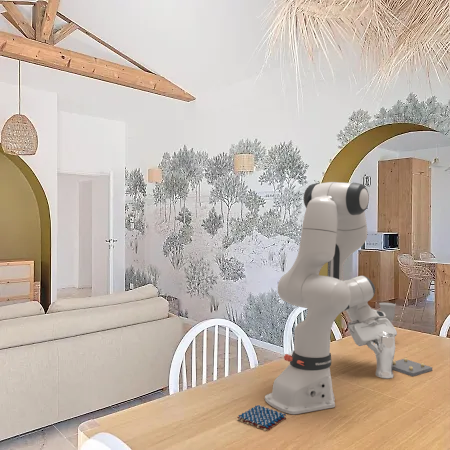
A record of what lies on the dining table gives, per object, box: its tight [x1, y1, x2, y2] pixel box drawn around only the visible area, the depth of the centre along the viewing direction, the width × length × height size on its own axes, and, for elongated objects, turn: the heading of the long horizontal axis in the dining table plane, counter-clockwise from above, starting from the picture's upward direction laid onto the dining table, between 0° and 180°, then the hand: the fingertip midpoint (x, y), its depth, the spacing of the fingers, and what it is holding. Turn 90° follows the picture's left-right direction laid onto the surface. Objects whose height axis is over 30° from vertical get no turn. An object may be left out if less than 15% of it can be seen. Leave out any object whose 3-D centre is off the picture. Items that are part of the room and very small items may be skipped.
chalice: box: [378, 302, 397, 324], centre depth 200 cm, size 7×7×18 cm
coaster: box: [392, 357, 433, 377], centre depth 167 cm, size 12×12×2 cm
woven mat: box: [237, 404, 287, 432], centre depth 124 cm, size 10×11×2 cm
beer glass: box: [374, 332, 396, 379], centre depth 159 cm, size 7×7×15 cm
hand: (386, 351), depth 159 cm, fingers closed on beer glass, 7 cm apart
